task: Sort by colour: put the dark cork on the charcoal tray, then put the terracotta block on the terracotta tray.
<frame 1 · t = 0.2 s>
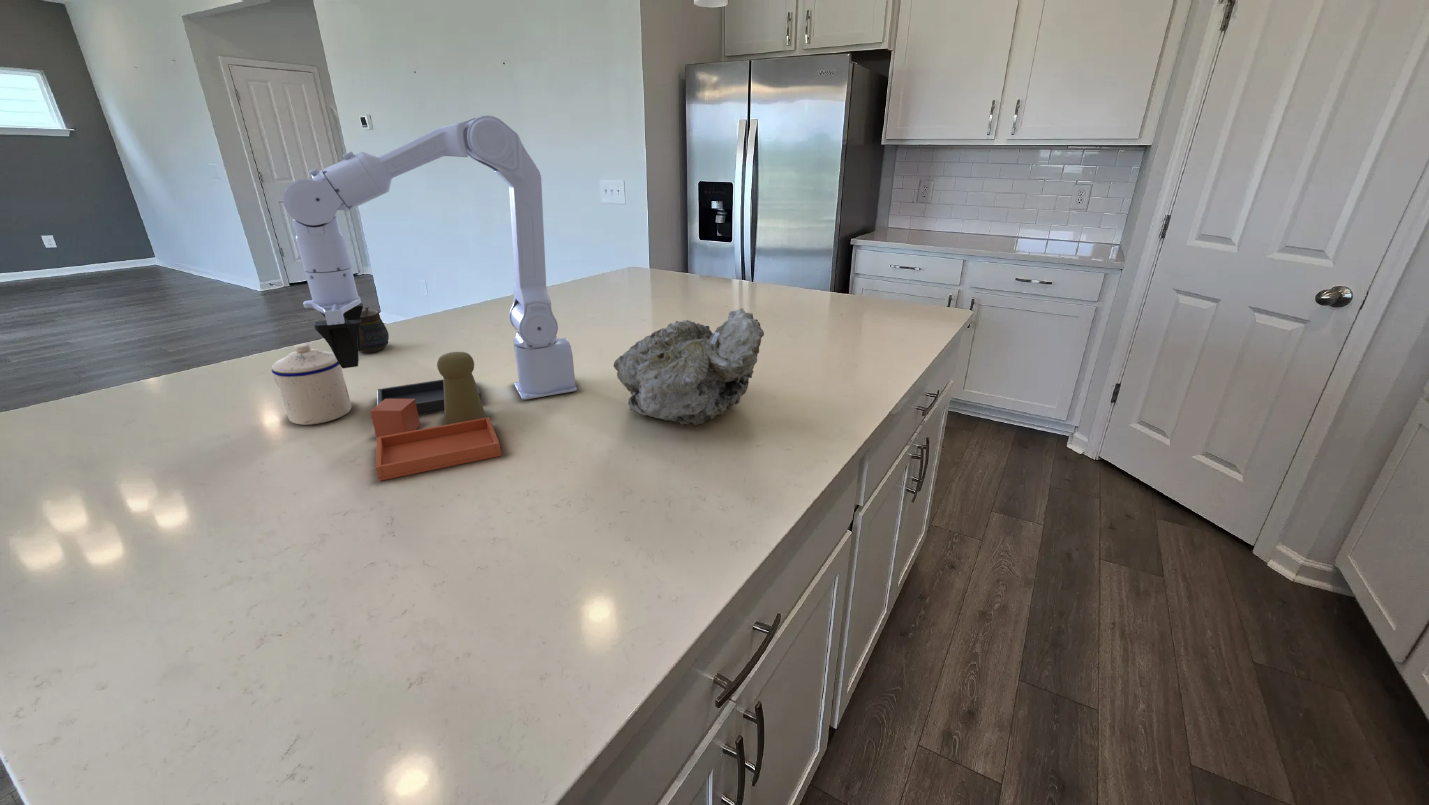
hand: (351, 359, 89), 10 cm above the worktop, tool pointing down, fingers open, 7 cm apart
rock: (689, 411, 97), on the worktop
terracotta block: (399, 431, 89), on the worktop
charcoal tray: (430, 402, 99), on the worktop
terracotta tray: (440, 452, 83), on the worktop
mate gourd: (373, 350, 124), on the worktop
cork: (465, 420, 93), on the worktop
lidded enamel canister: (314, 414, 95), on the worktop
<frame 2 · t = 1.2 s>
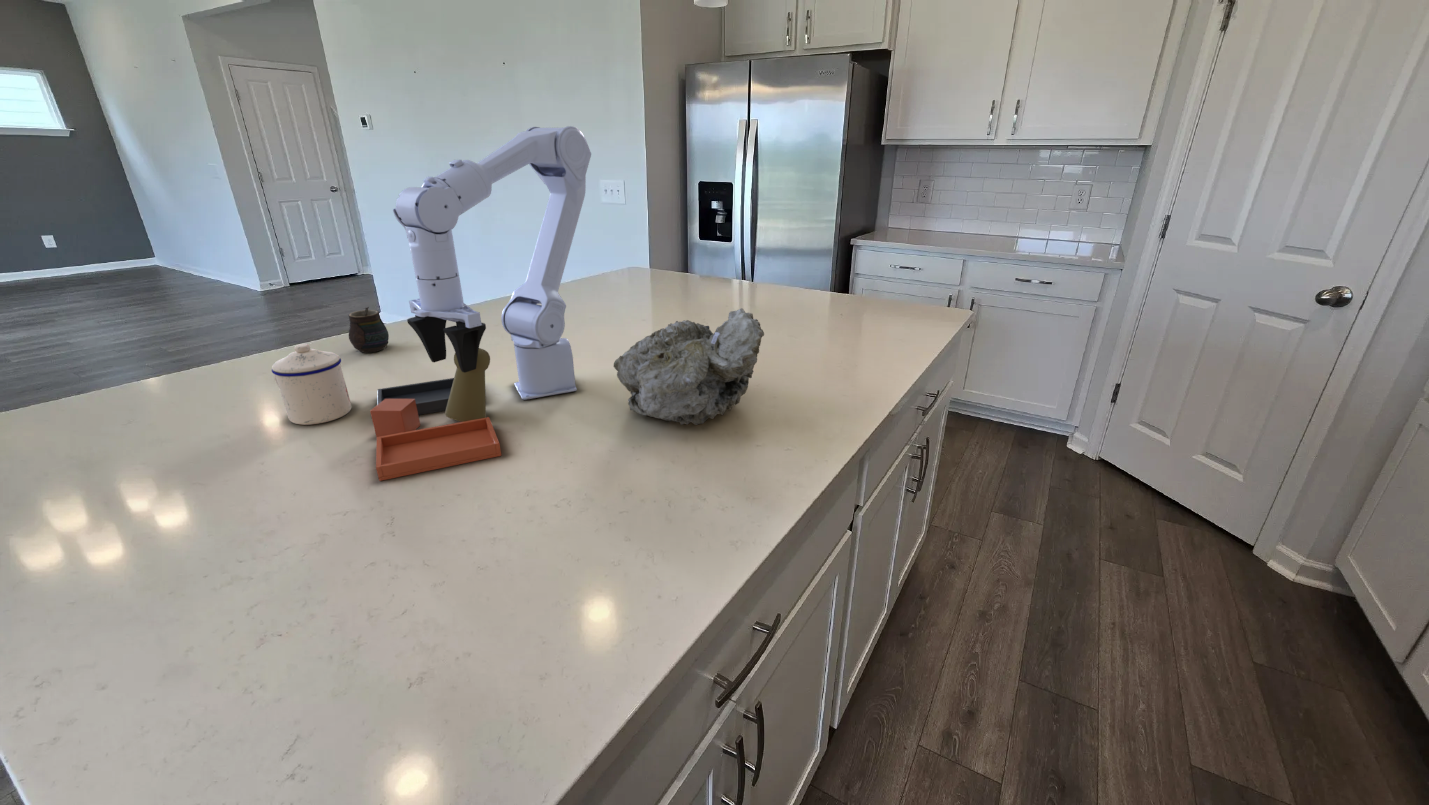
hand: (453, 365, 89), 9 cm above the worktop, tool pointing down, fingers open, 7 cm apart
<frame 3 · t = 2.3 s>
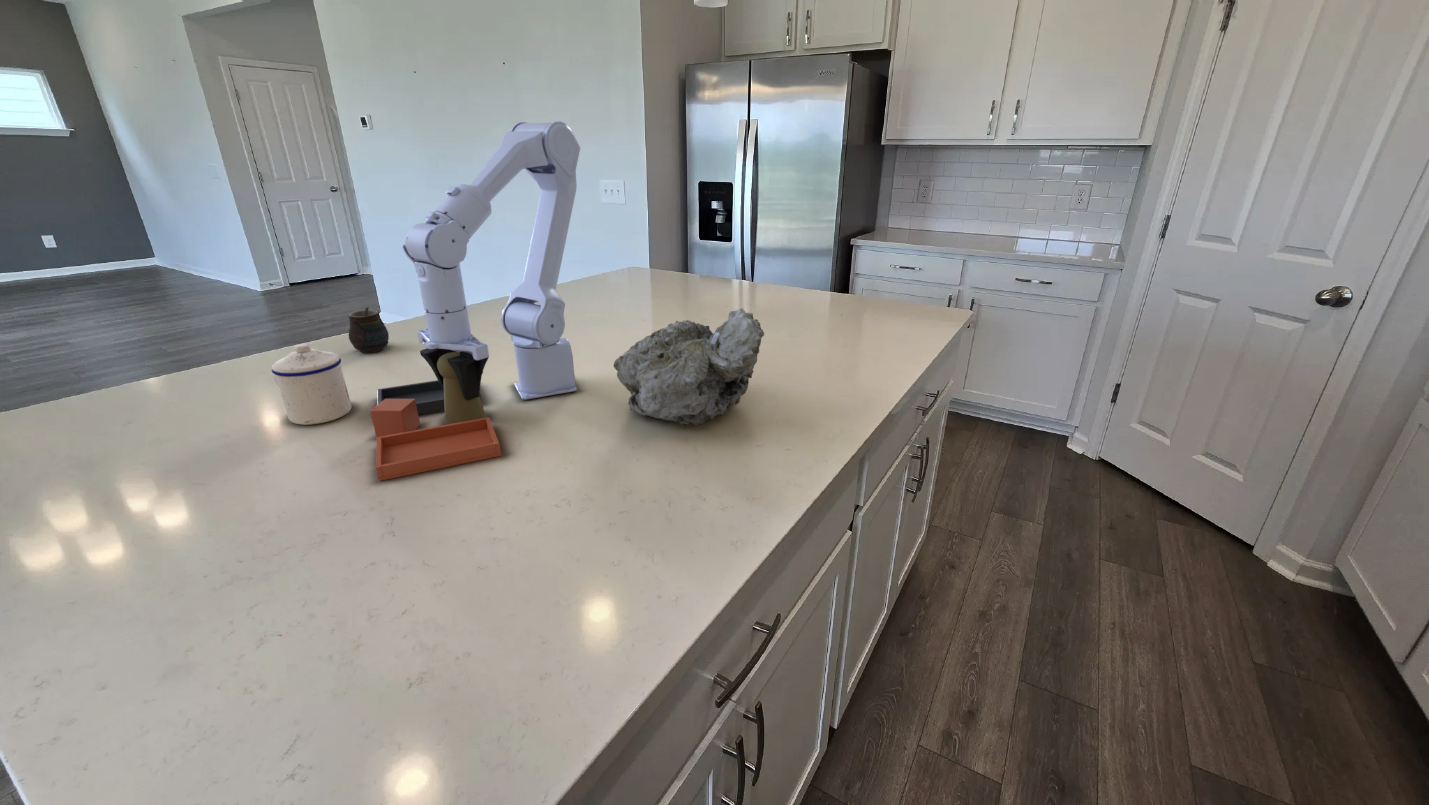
hand: (461, 394, 91), 4 cm above the worktop, tool pointing down, fingers closed on cork, 5 cm apart
cork: (465, 420, 93), on the worktop, touching gripper
everything else where it was.
when the fingers open (2 cm above the worktop, at t = 15.3 s): cork stays where it is, resting on charcoal tray.
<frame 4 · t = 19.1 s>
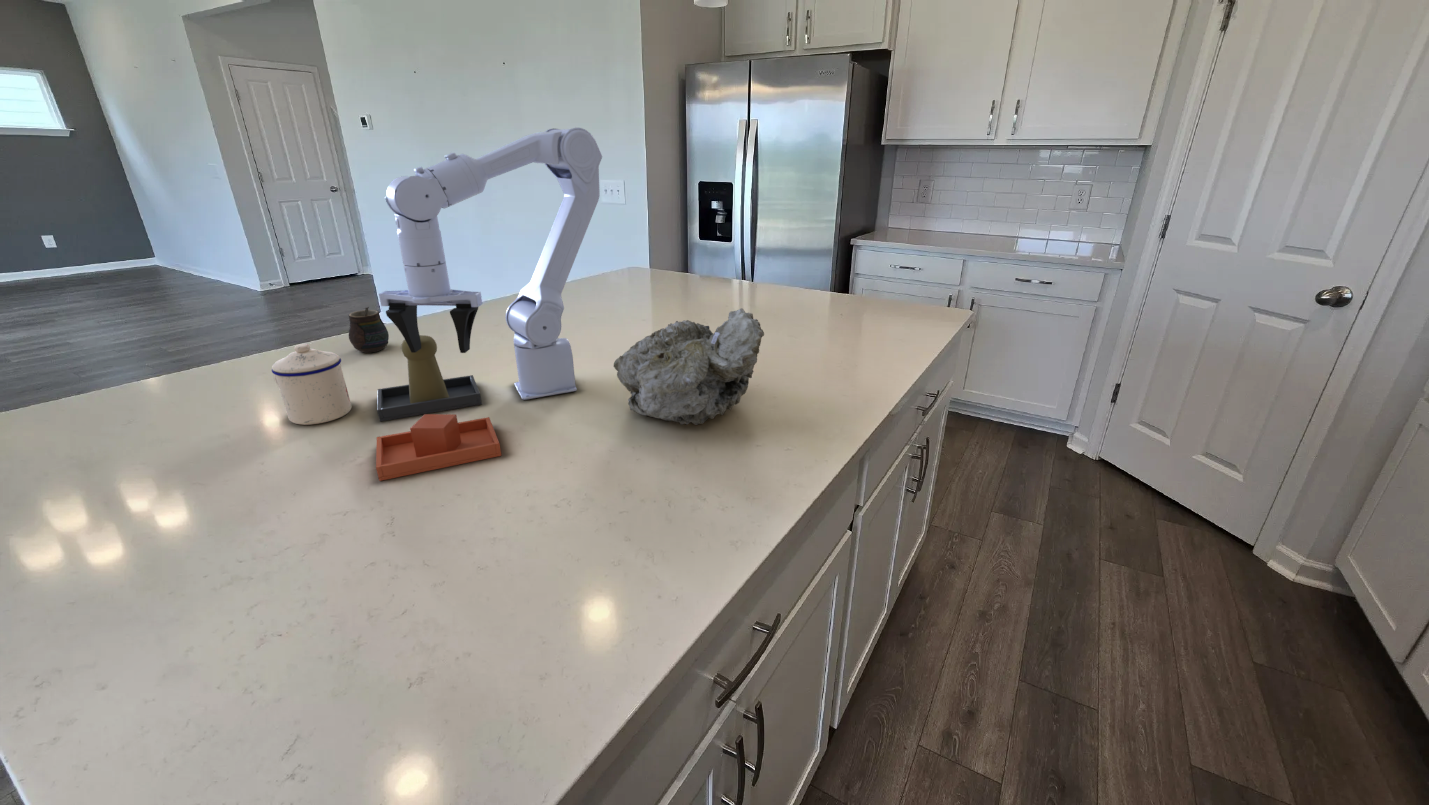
hand: (440, 350, 92), 10 cm above the worktop, tool pointing down, fingers open, 7 cm apart
terracotta block: (439, 449, 83), resting on terracotta tray
cork: (430, 400, 99), resting on charcoal tray
everything else where it was.
at the end: cork inside the target area in the charcoal tray (0.0 cm from its centre), point 0.3 cm above the charcoal tray's base; cork tilted 0°; terracotta block inside the target area in the terracotta tray (0.1 cm from its centre), point 0.5 cm above the terracotta tray's base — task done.
